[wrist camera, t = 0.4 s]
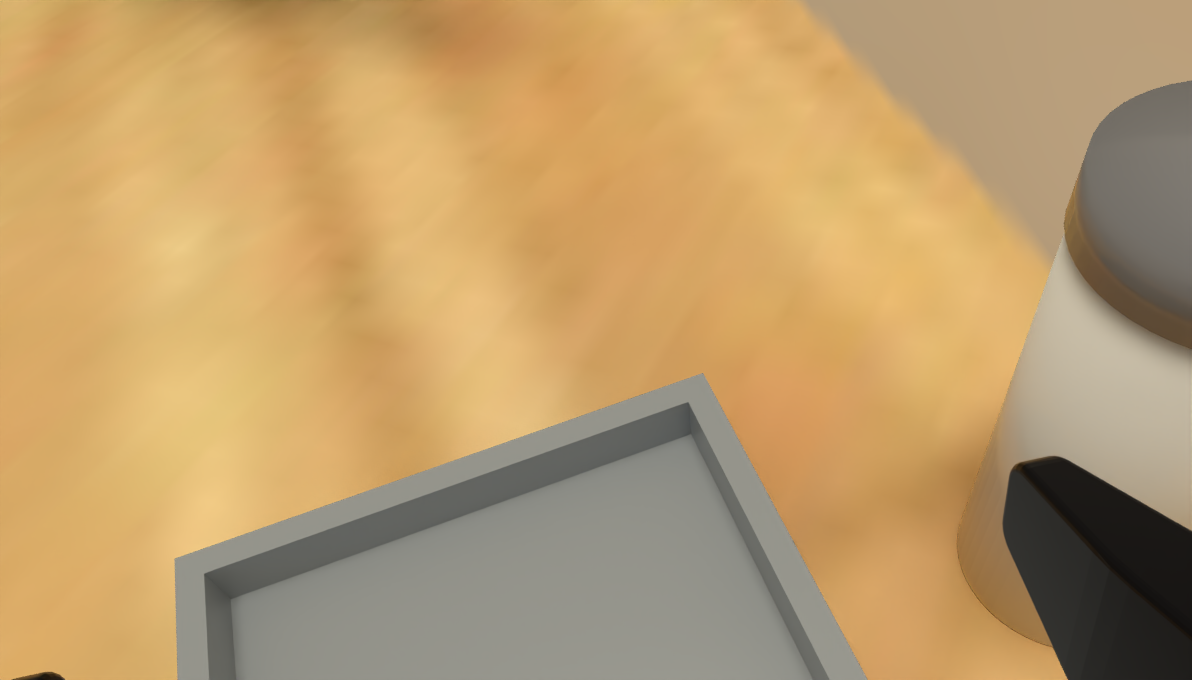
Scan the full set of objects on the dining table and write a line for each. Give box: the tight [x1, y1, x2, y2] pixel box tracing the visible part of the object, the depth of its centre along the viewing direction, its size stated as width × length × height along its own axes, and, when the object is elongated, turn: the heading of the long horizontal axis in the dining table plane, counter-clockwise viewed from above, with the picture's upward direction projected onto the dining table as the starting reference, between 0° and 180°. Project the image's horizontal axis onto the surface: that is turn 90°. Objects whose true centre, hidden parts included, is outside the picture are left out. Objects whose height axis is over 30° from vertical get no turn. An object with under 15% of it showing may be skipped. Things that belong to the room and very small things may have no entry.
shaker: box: [957, 81, 1192, 647], centre depth 20 cm, size 5×5×14 cm
